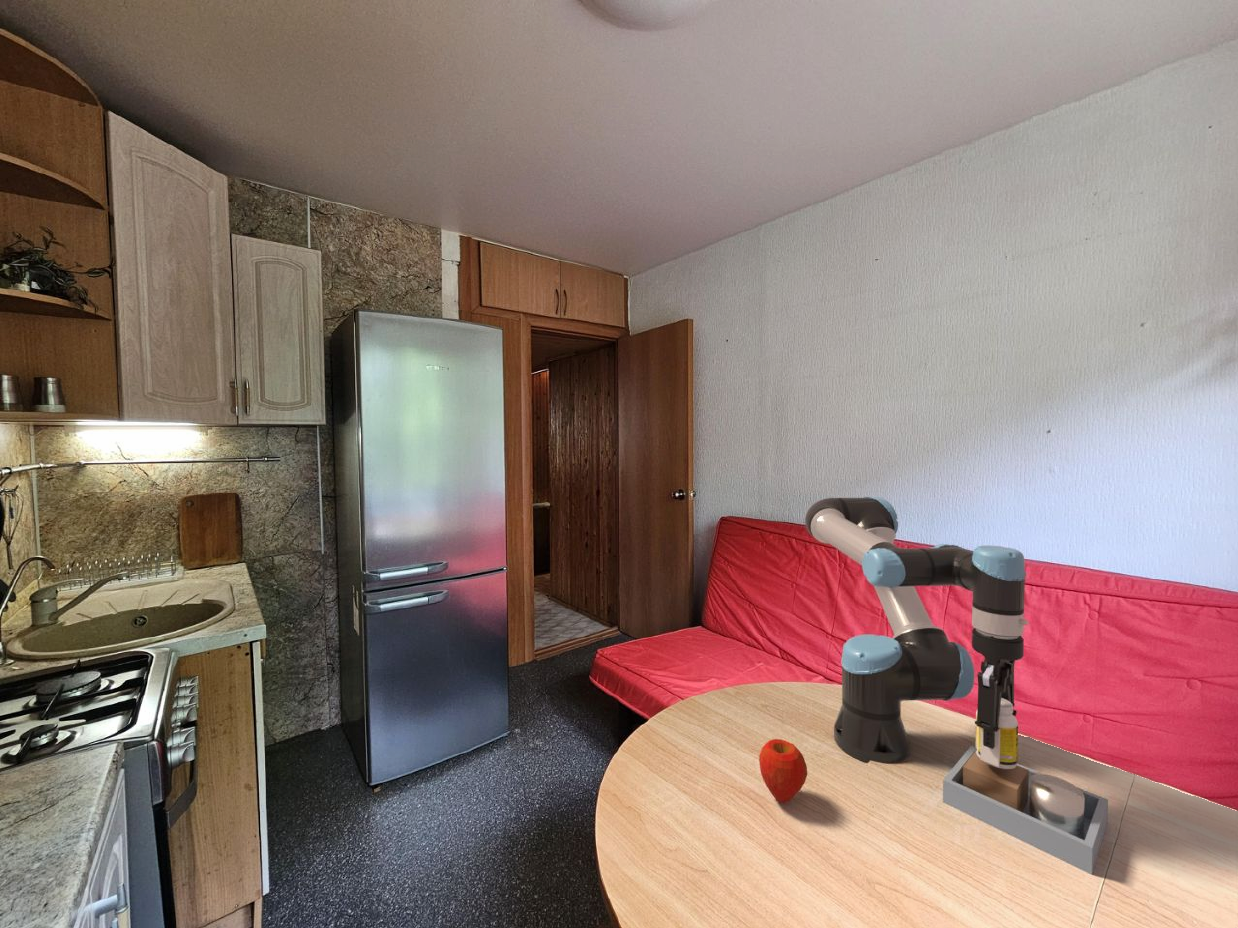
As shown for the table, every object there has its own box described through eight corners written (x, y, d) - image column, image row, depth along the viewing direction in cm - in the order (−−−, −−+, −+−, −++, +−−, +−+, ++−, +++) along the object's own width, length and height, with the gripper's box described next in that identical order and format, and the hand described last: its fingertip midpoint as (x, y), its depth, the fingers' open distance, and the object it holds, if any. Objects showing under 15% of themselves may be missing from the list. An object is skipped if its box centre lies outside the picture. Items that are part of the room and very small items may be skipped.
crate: (942, 806, 91) (943, 779, 90) (971, 769, 101) (971, 745, 100) (1091, 879, 75) (1092, 847, 75) (1107, 827, 85) (1108, 799, 85)
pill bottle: (1025, 772, 87) (1026, 711, 87) (986, 768, 88) (987, 708, 88) (1005, 751, 93) (1006, 694, 93) (969, 747, 94) (969, 691, 94)
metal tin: (1024, 825, 85) (1025, 785, 85) (1034, 805, 89) (1035, 768, 89) (1079, 850, 79) (1080, 808, 79) (1087, 828, 84) (1088, 789, 83)
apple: (813, 797, 93) (813, 742, 93) (795, 823, 87) (795, 764, 87) (771, 777, 99) (771, 725, 99) (751, 800, 93) (750, 744, 92)
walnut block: (962, 797, 91) (963, 766, 91) (976, 779, 96) (976, 749, 96) (1016, 822, 85) (1017, 789, 85) (1028, 801, 90) (1028, 769, 90)
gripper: (1008, 652, 81) (1006, 788, 82) (1036, 624, 93) (1034, 743, 94) (955, 639, 87) (954, 766, 88) (988, 614, 99) (986, 726, 100)
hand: (995, 754), depth 91 cm, fingers closed on pill bottle, 6 cm apart
